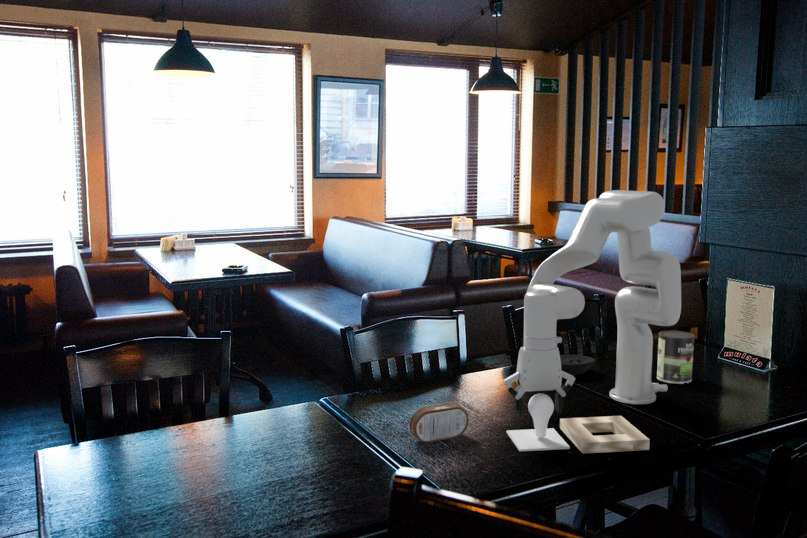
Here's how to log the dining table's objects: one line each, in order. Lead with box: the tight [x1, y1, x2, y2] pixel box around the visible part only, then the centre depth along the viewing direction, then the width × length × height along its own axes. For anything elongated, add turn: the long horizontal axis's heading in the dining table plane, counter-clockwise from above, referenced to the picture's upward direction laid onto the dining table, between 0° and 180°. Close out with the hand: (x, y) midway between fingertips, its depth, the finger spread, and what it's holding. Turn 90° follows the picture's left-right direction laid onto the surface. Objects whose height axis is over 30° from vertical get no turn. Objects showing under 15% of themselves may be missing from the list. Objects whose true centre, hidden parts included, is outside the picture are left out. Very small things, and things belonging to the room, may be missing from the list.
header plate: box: [559, 415, 650, 454], centre depth 177 cm, size 16×16×2 cm
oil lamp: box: [560, 354, 596, 376], centre depth 230 cm, size 15×20×5 cm
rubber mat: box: [506, 427, 571, 452], centre depth 176 cm, size 12×12×1 cm
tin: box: [409, 402, 470, 444], centre depth 177 cm, size 15×3×8 cm, turn 114°
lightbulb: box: [527, 393, 555, 439], centre depth 176 cm, size 6×6×11 cm
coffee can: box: [656, 330, 695, 385], centre depth 223 cm, size 10×10×14 cm
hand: (538, 412), depth 176 cm, fingers open, 9 cm apart
